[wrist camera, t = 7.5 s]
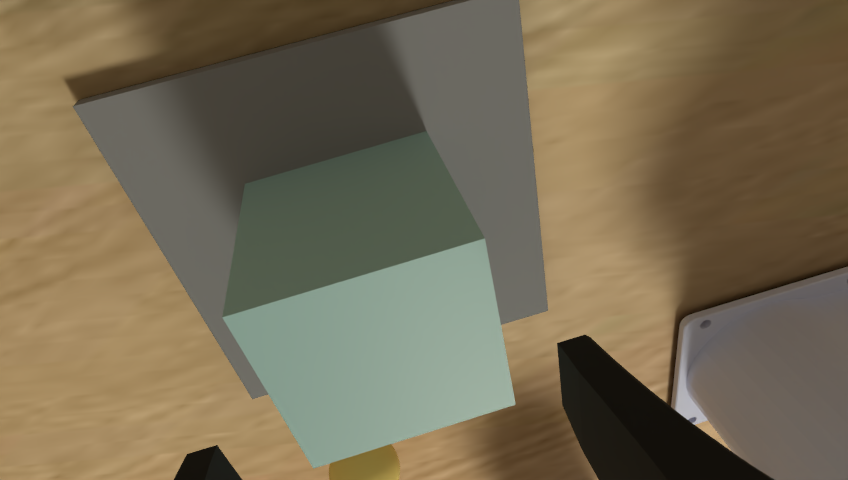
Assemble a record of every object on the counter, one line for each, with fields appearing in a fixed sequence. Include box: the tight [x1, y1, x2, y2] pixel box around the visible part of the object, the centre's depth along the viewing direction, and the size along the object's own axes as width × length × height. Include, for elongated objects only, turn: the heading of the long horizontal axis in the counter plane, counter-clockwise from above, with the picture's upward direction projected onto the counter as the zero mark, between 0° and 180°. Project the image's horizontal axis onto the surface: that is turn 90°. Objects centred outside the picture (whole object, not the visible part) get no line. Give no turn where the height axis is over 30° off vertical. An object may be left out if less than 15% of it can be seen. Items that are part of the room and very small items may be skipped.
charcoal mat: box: [73, 0, 548, 399], centre depth 18 cm, size 12×12×1 cm
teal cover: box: [222, 131, 516, 469], centre depth 15 cm, size 6×6×6 cm
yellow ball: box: [329, 444, 400, 480], centre depth 23 cm, size 3×3×3 cm
